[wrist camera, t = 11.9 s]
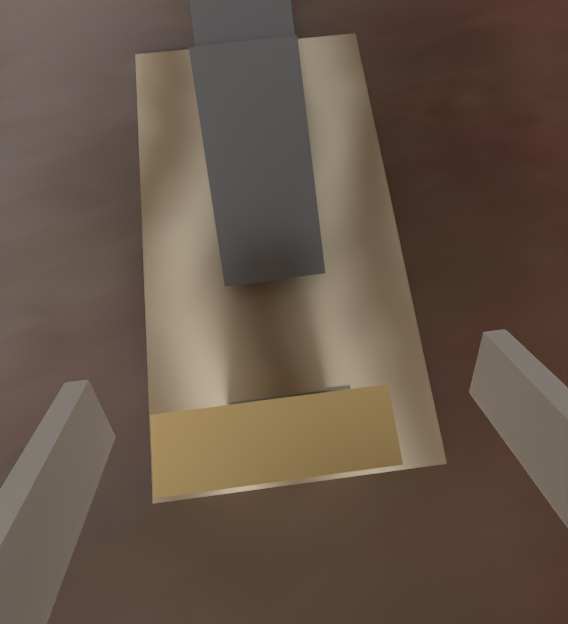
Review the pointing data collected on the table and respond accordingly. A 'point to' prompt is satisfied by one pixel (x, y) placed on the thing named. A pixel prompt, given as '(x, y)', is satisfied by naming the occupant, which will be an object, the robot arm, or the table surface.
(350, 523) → the table surface
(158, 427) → the ochre domino
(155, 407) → the birch board
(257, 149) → the domino
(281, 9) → the domino
